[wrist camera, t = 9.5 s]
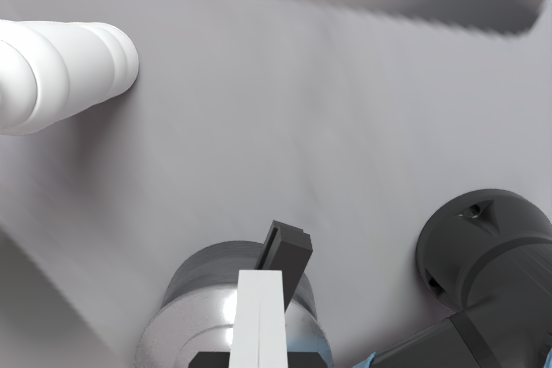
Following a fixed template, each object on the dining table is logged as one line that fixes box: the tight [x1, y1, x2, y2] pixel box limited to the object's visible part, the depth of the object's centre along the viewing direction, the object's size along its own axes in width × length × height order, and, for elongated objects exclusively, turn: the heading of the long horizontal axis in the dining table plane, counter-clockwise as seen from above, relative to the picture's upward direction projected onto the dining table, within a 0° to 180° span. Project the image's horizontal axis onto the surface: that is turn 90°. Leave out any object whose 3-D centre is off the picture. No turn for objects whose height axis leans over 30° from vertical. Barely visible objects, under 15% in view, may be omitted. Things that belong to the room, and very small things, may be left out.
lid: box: [134, 225, 333, 368], centre depth 42 cm, size 28×20×4 cm
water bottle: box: [0, 20, 139, 136], centre depth 32 cm, size 7×7×25 cm
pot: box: [160, 220, 318, 321], centre depth 49 cm, size 26×19×10 cm
